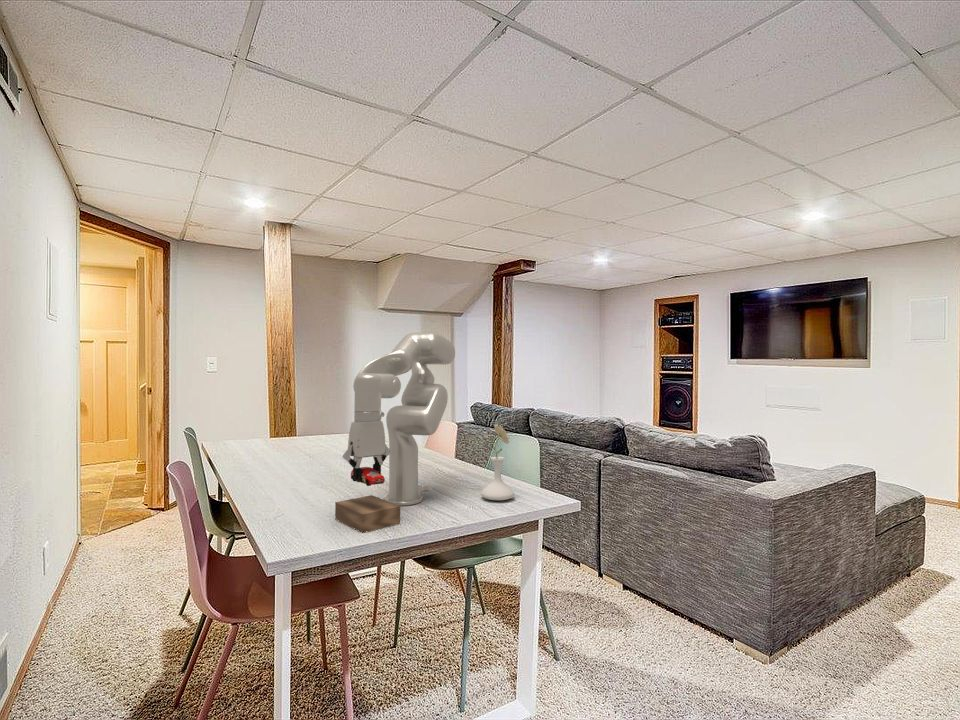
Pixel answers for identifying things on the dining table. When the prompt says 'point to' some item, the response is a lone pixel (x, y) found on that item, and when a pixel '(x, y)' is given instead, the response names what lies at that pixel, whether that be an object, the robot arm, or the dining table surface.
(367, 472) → the race car
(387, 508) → the walnut riser block
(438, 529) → the dining table surface
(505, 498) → the flower in vase
